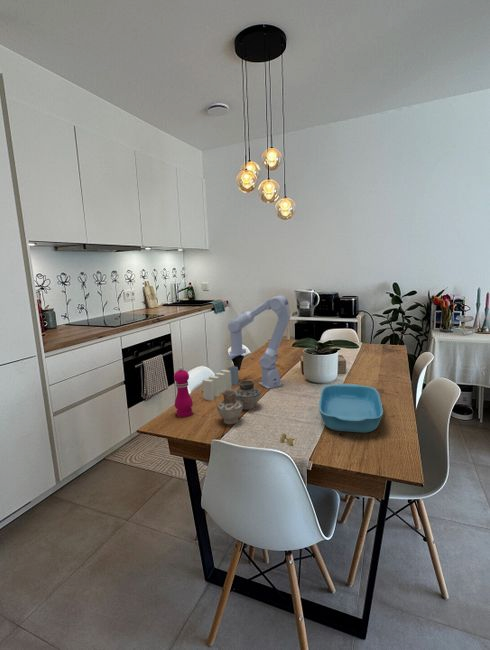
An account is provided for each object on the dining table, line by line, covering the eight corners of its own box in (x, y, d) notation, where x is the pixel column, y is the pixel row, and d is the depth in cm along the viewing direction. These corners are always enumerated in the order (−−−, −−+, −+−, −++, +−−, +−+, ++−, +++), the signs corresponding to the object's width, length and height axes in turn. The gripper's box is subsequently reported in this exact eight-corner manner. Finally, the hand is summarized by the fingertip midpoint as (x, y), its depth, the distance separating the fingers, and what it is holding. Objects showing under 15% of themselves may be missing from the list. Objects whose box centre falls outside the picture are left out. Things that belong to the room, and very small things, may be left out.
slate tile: (230, 383, 177) (229, 366, 175) (238, 384, 175) (237, 367, 173) (228, 384, 175) (227, 367, 174) (236, 385, 173) (235, 368, 171)
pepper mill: (197, 413, 143) (193, 366, 140) (182, 419, 138) (178, 370, 135) (186, 408, 148) (182, 363, 145) (171, 414, 143) (167, 367, 139)
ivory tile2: (223, 387, 171) (222, 369, 170) (231, 388, 169) (230, 370, 167) (221, 388, 170) (220, 370, 168) (229, 390, 168) (228, 371, 166)
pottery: (211, 424, 133) (209, 394, 131) (241, 400, 155) (240, 374, 153) (238, 429, 128) (236, 398, 126) (265, 403, 150) (264, 376, 148)
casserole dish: (322, 396, 155) (322, 380, 154) (376, 399, 149) (376, 383, 148) (316, 436, 120) (316, 417, 119) (386, 442, 114) (387, 422, 113)
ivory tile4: (212, 394, 163) (211, 375, 162) (220, 395, 161) (219, 376, 159) (210, 395, 162) (208, 376, 160) (218, 397, 159) (217, 378, 158)
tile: (218, 390, 167) (217, 372, 166) (226, 392, 165) (225, 373, 163) (216, 392, 166) (214, 373, 164) (224, 393, 163) (223, 374, 162)
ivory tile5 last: (206, 397, 159) (204, 378, 158) (214, 399, 157) (213, 380, 155) (203, 399, 158) (202, 380, 156) (212, 400, 155) (210, 381, 154)
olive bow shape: (291, 447, 115) (291, 442, 114) (277, 444, 117) (277, 439, 117) (297, 440, 119) (297, 435, 119) (283, 437, 122) (282, 432, 121)
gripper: (237, 340, 183) (238, 365, 186) (221, 346, 171) (223, 373, 174) (249, 341, 180) (250, 366, 182) (234, 347, 168) (235, 374, 170)
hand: (237, 369), depth 178 cm, fingers closed
